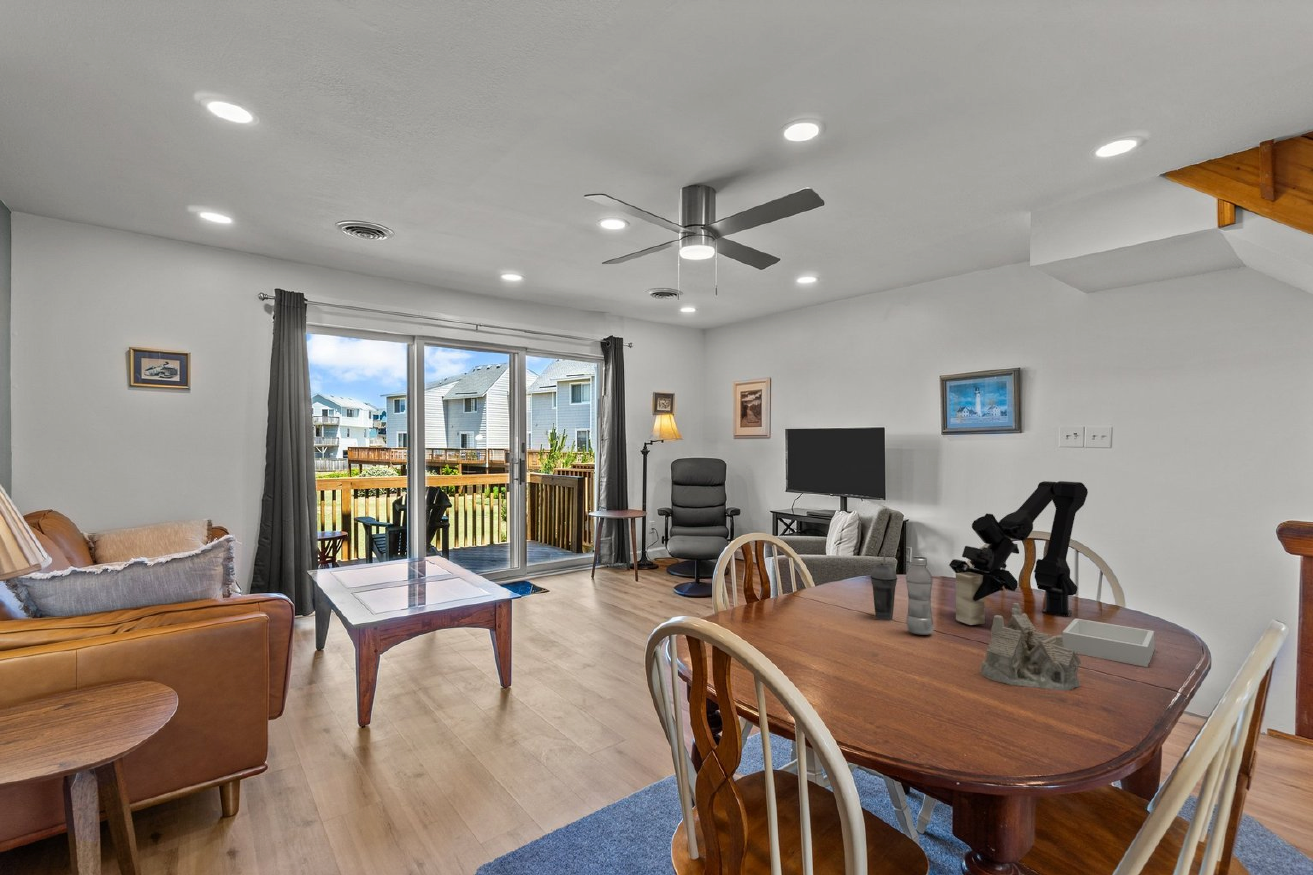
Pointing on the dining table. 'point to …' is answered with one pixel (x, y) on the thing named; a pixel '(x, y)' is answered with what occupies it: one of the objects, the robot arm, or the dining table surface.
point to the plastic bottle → (919, 597)
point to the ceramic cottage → (1028, 656)
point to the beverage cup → (883, 590)
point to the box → (1110, 641)
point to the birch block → (969, 599)
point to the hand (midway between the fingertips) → (966, 597)
